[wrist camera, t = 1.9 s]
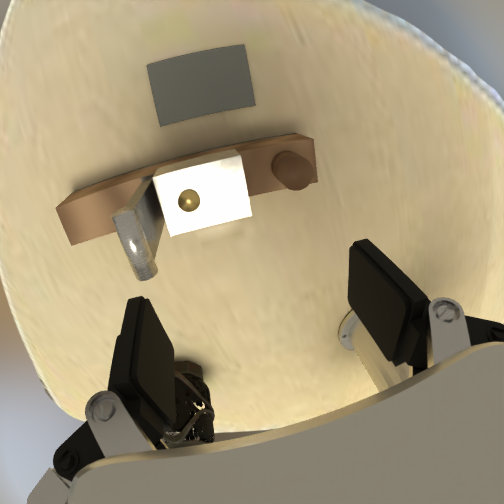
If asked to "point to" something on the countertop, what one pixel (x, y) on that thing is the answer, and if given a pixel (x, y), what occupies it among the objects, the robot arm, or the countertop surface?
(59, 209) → the plane body
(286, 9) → the countertop surface
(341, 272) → the countertop surface
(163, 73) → the mat
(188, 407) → the lantern
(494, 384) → the robot arm
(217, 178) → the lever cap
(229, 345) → the countertop surface
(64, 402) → the countertop surface
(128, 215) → the lever
